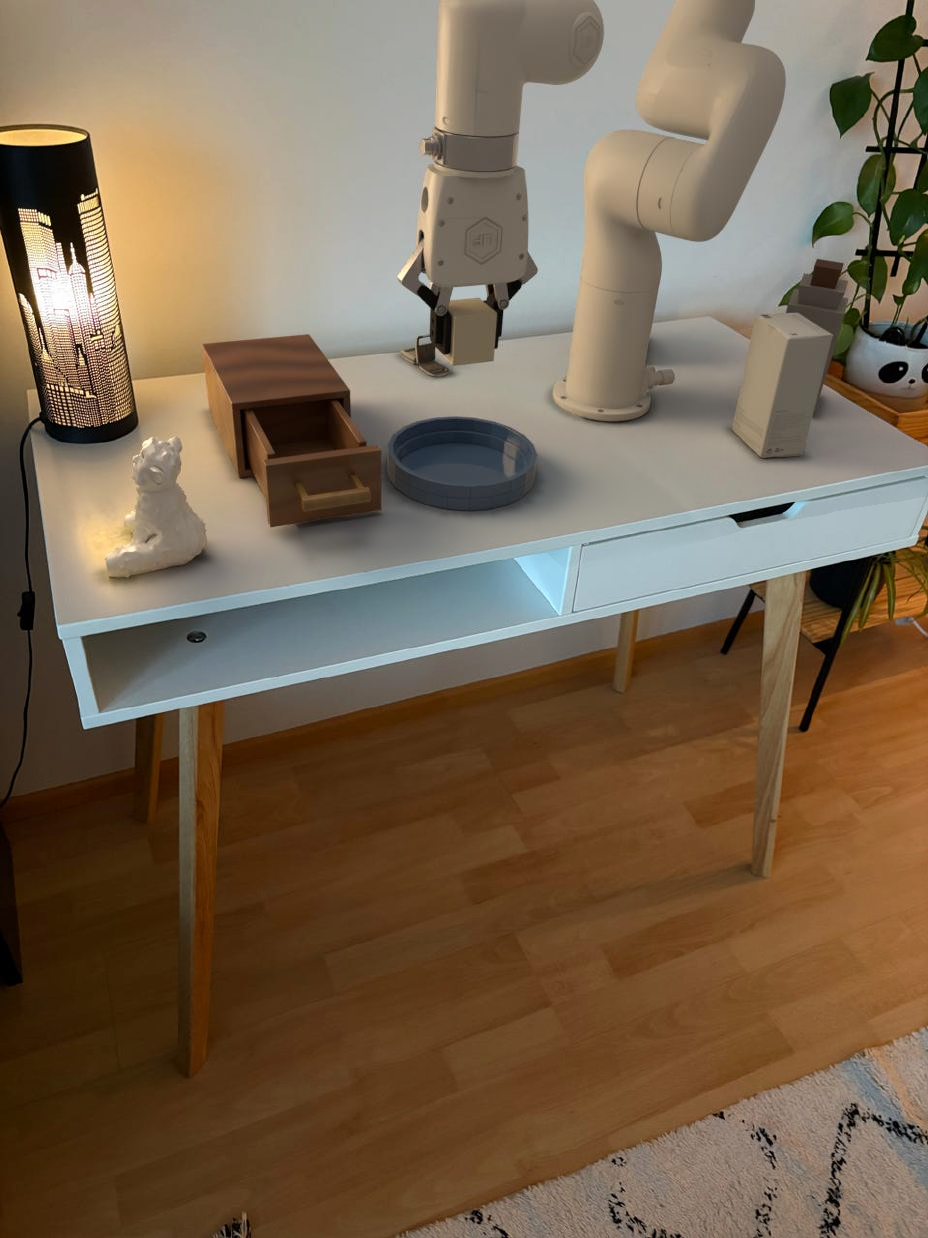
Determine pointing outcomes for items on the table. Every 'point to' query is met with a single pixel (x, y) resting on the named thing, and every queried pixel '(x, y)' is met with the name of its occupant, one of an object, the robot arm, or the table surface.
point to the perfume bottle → (822, 302)
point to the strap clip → (424, 357)
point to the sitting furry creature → (158, 515)
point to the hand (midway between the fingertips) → (465, 344)
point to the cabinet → (265, 383)
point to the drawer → (311, 461)
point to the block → (471, 332)
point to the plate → (461, 463)
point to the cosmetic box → (780, 384)
